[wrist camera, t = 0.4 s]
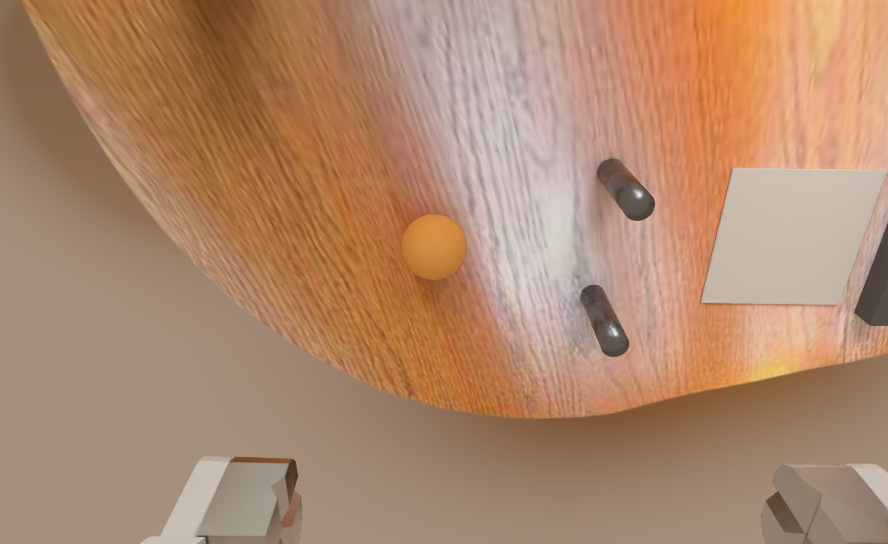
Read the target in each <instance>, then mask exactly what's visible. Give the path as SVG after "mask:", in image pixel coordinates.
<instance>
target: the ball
mask: <svg viewBox="0 0 888 544" xmlns="http://www.w3.org/2000/svg"><path fill="white" fill-rule="evenodd" d="M466 251H467V243H466V238H465V235H464V233H463V231H462V229H461V228H460V226H459V225H458V224H457V223H456V222H455V221H453V220H452V219H450V218H448V217H446V216H443V215H439V214H429V215H425V216H422V217H420V218H418V219H416V220H414V221H413V222H412V223H411V224H410V225H409V226H408V228H407V229H406V231H405V232H404V235H403V238H402V242H401V252H402V256H403V259H404V262H405V263H406V265H407V266H408V268H409V269H410V270H411V271H412V272H413V273H415V274H416V275H418V276H420V277H422V278H425V279H429V280H438V279H443V278H446V277H448V276H450V275H452V274H453V273H455V272H456V271H457V270H458V269H459V268H460V266H461V265H462V263H463V261H464V259H465V256H466Z"/></svg>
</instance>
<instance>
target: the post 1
mask: <svg viewBox="0 0 888 544" xmlns="http://www.w3.org/2000/svg"><path fill="white" fill-rule="evenodd" d="M597 174H598V178H599V180H600V181H601V182H602V184H603V185H604V186H605V188H606V189H607V190H608V192H609V193H610V195H611V196H612V197H613V199H614V200H615V201H616V203H617V204H618V205H619V207H620V208H621V209H622V211H623V212H624V214H625V215H626V216H627V217H628V218H629V219H631V220H634V221H640V220H643V219H646V218H647V217H649V216H650V215H651V213H652V212H653V210H654V207H655V201H654V198H653V197H652V196H651V195H650V193H649V192H648V191H647V190H646V189H645V188H644V187H643V186H642V185H641V184H640V183H639V181H638V180H637V179H636V178H635V177H634V176H633V175H632V174H631V173H630V172H629V170H628V169H627V168H626V167H625V166H624V165H623V164H622V163H621V162H620V161H619V160H617V159H608V160H605V161H604V162H602V163H601V165H600V166H599V168H598V172H597Z"/></svg>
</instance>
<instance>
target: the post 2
mask: <svg viewBox="0 0 888 544" xmlns="http://www.w3.org/2000/svg"><path fill="white" fill-rule="evenodd" d="M581 300H582V303H583V305H584V307H585V310H586V312H587V315H588V317H589V320H590V322H591V324H592V327H593V329H594V332H595V334H596V337H597V339H598V341H599V344H600V346H601V349H602V351H603V353H604V354H606V355H607V356H610V357H617V356H620V355H622V354H624V353H625V352H626V351H627V349H628V347H629V341H628V338H627V336H626V334H625V332H624V330H623V328H622V326H621V324H620V322H619V320H618V318H617V316H616V314H615V312H614V310H613V308H612V306H611V304H610V302H609V300H608V298H607V296H606V294H605V292H604V290H603V289H602V288H601V287H600V286H598V285H590V286H588V287H586V288H585V289H584V290H583V291H582V293H581Z"/></svg>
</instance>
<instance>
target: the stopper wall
mask: <svg viewBox="0 0 888 544" xmlns="http://www.w3.org/2000/svg"><path fill="white" fill-rule="evenodd" d="M854 313H856V314H857V315H858V316H859V317H860V318H861V319H863V320H864V321H865V322H866V323H867V324H869V325H870V326H888V225H887V227H886V230H885V233H884V235H883V238H882V241H881V243H880V246H879V249H878V251H877V254H876V257H875V259H874V262H873V265H872V267H871V270H870V273H869V275H868V278H867V281H866V283H865V286H864V289H863V291H862V294H861V296H860V299H859V302H858V304H857V307H856V310H855V312H854Z"/></svg>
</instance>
